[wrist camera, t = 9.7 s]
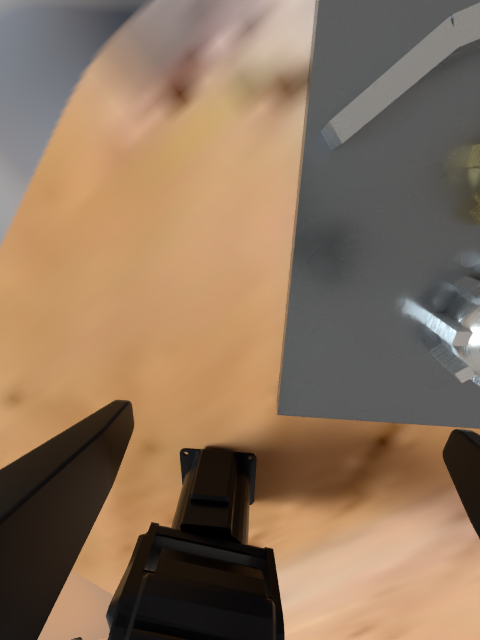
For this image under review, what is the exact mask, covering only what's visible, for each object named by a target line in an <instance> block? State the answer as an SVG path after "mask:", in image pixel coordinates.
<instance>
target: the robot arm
mask: <svg viewBox="0 0 480 640" xmlns="http://www.w3.org/2000/svg"><path fill="white" fill-rule="evenodd" d="M133 429H134V417H133V409H132V404H131V402H130V401H127V400H115V401H113V402H111V403H110V404H108V405H106V406H105V407H103V408H101V409H100V410H98V411H96V412H95V413H93V414H92V415H90V416H88V417H87V418H85V419H83V420H82V421H80V422H78V423H77V424H75V425H73V426H72V427H70V428H68V429H67V430H65V431H63V432H62V433H60V434H58V435H57V436H55V437H54V438H52V439H50V440H49V441H47V442H45V443H44V444H42V445H40V446H39V447H37V448H35V449H34V450H32V451H30V452H29V453H27V454H25V455H24V456H22V457H20V458H19V459H17V460H16V461H14V462H12V463H11V464H9V465H7V466H6V467H4V468H2V469H1V470H0V640H37V639H38V637H39V635H40V633H41V631H42V629H43V627H44V625H45V623H46V621H47V619H48V616H49V615H50V613H51V611H52V608H53V606H54V604H55V602H56V600H57V598H58V596H59V594H60V592H61V590H62V588H63V586H64V584H65V582H66V580H67V578H68V576H69V574H70V572H71V570H72V568H73V566H74V564H75V562H76V559H77V557H78V555H79V553H80V551H81V549H82V547H83V545H84V543H85V541H86V539H87V537H88V535H89V533H90V531H91V529H92V527H93V525H94V523H95V521H96V519H97V517H98V515H99V513H100V510H101V508H102V506H103V504H104V502H105V500H106V498H107V496H108V494H109V492H110V490H111V488H112V485H113V483H114V481H115V478H116V476H117V473H118V470H119V468H120V465H121V462H122V459H123V457H124V454H125V451H126V449H127V446H128V443H129V441H130V438H131V435H132V433H133ZM183 452H187V453H188V455H185V454H183ZM248 457H253V459H252V460H249V459H248ZM443 459H444V462H445V464H446V467H447V469H448V471H449V474H450V476H451V478H452V480H453V483H454V485H455V487H456V490H457V492H458V494H459V497H460V499H461V501H462V504H463V506H464V508H465V510H466V513H467V515H468V517H469V519H470V521H471V523H472V525H473V527H474V529H475V531H476V533H477V535H478V537H479V538H480V435H478V434H477V433H475V432H473V431H470V430H460V429H456V430H453V431H452V432H451V434H450V436H449V438H448V441H447V443H446V445H445V447H444V449H443ZM180 462H181V473H182V484H183V487H182V490H181V494H180V498H179V501H178V505H177V509H176V512H175V516H174V520H173V523H172V527H171V528H169V527H164V526H160V525H159V524H158V523H154V522H151V525H150V528H149V530H148V532H147V533H145V534H142V535H139V537H138V540H137V543H136V546H135V549H134V551H133V554H132V557H131V559H130V562H129V564H128V567H127V569H126V571H125V573H124V575H123V577H122V579H121V582H120V584H119V586H118V588H117V590H116V592H115V594H114V596H113V598H112V601H111V603H110V605H109V608H108V611H107V615H106V618H107V622H108V625H109V629H110V633H109V637H108V640H284V621H283V612H282V605H281V599H280V592H279V585H278V578H277V572H276V565H275V558H274V551H273V549H272V548H267V547H265V549H264V548H260V547H255V546H251V545H248V530H249V505H251V504H253V502H254V489H255V474H256V456H255V455H254V454H252V453H240V452H233V451H228V450H215V449H202V450H201V449H188V448H184V449H181V451H180ZM150 570H151V571H150Z"/></svg>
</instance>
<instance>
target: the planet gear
mask: <svg viewBox="0 0 480 640" xmlns="http://www.w3.org/2000/svg"><path fill="white" fill-rule="evenodd" d="M466 168H480V144H477V145H473V146H472V149H471V152H470V155H469V159H468V162H467V165H466ZM469 213H470V214H471V216H472V218H473V219H474V221H475V222H476V224H477V225H479V226H480V203H479V204H478V205H477V206H475V207H474V208H473V209H471V210H470V211H469Z"/></svg>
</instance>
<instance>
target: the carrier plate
mask: <svg viewBox="0 0 480 640" xmlns="http://www.w3.org/2000/svg"><path fill="white" fill-rule="evenodd" d="M477 144H480V0H316V5H315V16H314V26H313V36H312V47H311V57H310V67H309V78H308V88H307V98H306V108H305V119H304V129H303V139H302V150H301V160H300V170H299V181H298V191H297V201H296V212H295V222H294V232H293V242H292V253H291V263H290V273H289V284H288V294H287V304H286V315H285V325H284V335H283V346H282V356H281V366H280V376H279V387H278V397H277V415H286V416H301V417H315V418H330V419H345V420H360V421H374V422H389V423H404V424H419V425H433V426H448V427H463V428H478V429H480V226H479V225H477V224H476V222H475V221H474V219H473V218H472V216H471V214H470V213H469V211H470V210H471V209H473V208H474V207H475V206H477V205H478V204H479V203H480V168H466V165H467V162H468V159H469V155H470V152H471V149H472V146H473V145H477Z"/></svg>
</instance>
